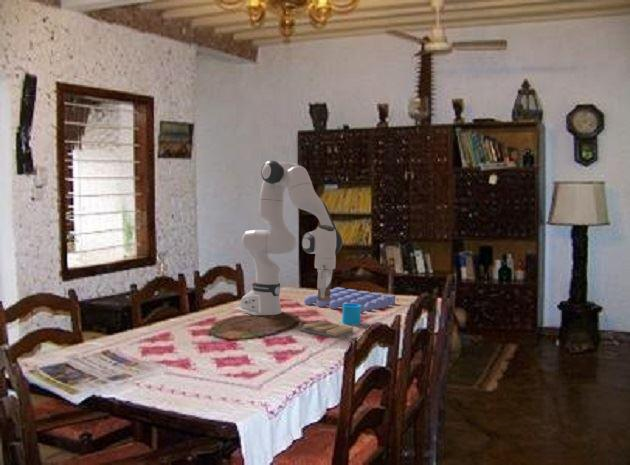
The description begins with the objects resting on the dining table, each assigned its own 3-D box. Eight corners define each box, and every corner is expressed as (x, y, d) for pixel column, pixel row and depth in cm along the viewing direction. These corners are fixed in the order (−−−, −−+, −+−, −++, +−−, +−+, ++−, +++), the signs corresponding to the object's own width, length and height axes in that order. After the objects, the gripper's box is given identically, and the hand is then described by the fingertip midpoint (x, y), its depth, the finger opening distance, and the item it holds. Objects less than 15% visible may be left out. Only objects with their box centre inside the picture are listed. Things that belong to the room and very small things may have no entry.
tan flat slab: (302, 327, 294) (303, 324, 293) (318, 322, 304) (318, 319, 304) (325, 332, 288) (325, 329, 288) (339, 327, 298) (339, 324, 298)
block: (317, 298, 297) (318, 287, 296) (329, 299, 297) (329, 287, 296) (317, 300, 292) (318, 289, 291) (329, 301, 292) (330, 289, 291)
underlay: (299, 331, 293) (299, 325, 293) (317, 325, 305) (317, 320, 305) (336, 338, 284) (336, 332, 284) (352, 331, 296) (353, 326, 296)
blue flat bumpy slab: (395, 305, 359) (395, 295, 359) (363, 315, 330) (363, 305, 330) (337, 295, 378) (337, 287, 377) (302, 305, 349) (302, 295, 349)
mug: (356, 326, 307) (357, 307, 306) (339, 323, 310) (340, 305, 309) (365, 320, 318) (366, 303, 317) (349, 318, 321) (349, 301, 320)
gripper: (329, 267, 282) (328, 301, 283) (335, 261, 302) (333, 292, 304) (314, 266, 283) (313, 300, 284) (320, 260, 303) (319, 291, 304)
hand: (323, 296), depth 294 cm, fingers closed on block, 5 cm apart
